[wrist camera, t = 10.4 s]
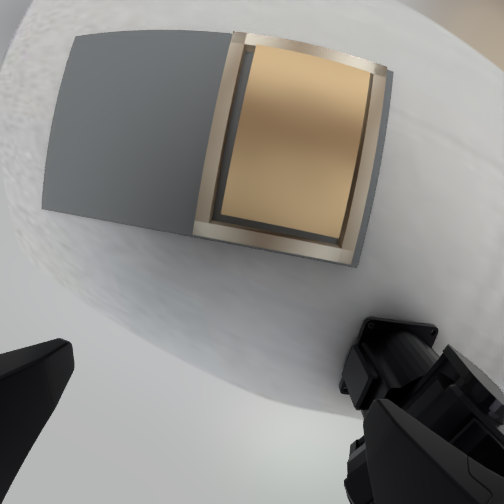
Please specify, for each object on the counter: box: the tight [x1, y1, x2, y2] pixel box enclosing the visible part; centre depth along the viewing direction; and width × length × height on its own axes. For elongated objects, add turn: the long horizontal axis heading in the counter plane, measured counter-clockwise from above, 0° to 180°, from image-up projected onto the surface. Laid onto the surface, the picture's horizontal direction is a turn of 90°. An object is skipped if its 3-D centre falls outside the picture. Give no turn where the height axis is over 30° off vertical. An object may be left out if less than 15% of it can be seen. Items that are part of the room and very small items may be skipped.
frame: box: [193, 31, 387, 265], centre depth 16 cm, size 9×12×1 cm
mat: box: [42, 30, 393, 268], centre depth 17 cm, size 22×13×1 cm, turn 79°
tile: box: [221, 44, 370, 238], centre depth 16 cm, size 9×6×3 cm, turn 169°
